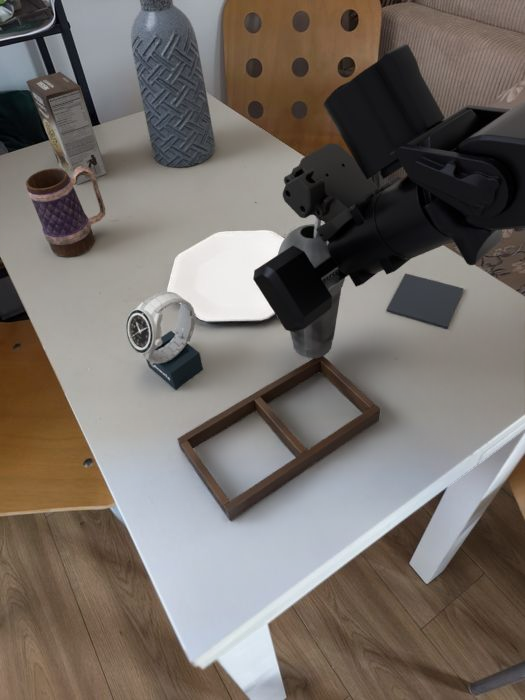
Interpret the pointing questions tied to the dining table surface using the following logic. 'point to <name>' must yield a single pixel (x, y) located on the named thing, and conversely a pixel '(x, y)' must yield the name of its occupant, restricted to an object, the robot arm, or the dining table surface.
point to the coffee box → (67, 124)
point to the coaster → (425, 300)
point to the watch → (165, 339)
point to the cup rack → (279, 433)
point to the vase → (171, 85)
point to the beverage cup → (322, 330)
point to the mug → (64, 210)
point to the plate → (225, 276)
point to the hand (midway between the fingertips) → (302, 273)
